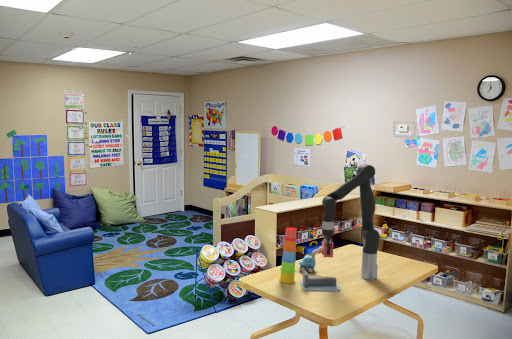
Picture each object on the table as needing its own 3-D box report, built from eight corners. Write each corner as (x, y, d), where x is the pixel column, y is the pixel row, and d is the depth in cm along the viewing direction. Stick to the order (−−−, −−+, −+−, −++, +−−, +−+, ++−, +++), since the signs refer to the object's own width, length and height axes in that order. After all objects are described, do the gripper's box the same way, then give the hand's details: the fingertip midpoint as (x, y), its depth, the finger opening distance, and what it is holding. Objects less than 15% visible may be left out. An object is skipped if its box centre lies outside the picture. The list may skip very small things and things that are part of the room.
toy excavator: (323, 274, 267) (324, 249, 265) (298, 271, 270) (299, 247, 269) (323, 269, 275) (324, 245, 274) (299, 267, 279) (300, 243, 277)
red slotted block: (330, 254, 260) (331, 240, 259) (333, 257, 254) (333, 243, 253) (321, 254, 260) (322, 240, 259) (323, 257, 254) (324, 243, 253)
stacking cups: (286, 276, 260) (288, 225, 257) (298, 281, 253) (300, 228, 250) (275, 280, 253) (277, 227, 250) (287, 285, 246) (289, 230, 242)
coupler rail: (334, 283, 249) (334, 270, 248) (337, 287, 242) (337, 274, 241) (302, 283, 248) (303, 270, 247) (304, 287, 241) (304, 274, 240)
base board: (334, 283, 252) (334, 281, 251) (339, 290, 240) (339, 289, 239) (300, 283, 250) (300, 281, 250) (303, 290, 239) (303, 289, 238)
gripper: (336, 230, 248) (335, 256, 250) (331, 225, 262) (330, 249, 264) (324, 230, 247) (324, 256, 249) (320, 225, 262) (319, 250, 263)
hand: (327, 253), depth 257 cm, fingers closed on red slotted block, 6 cm apart
